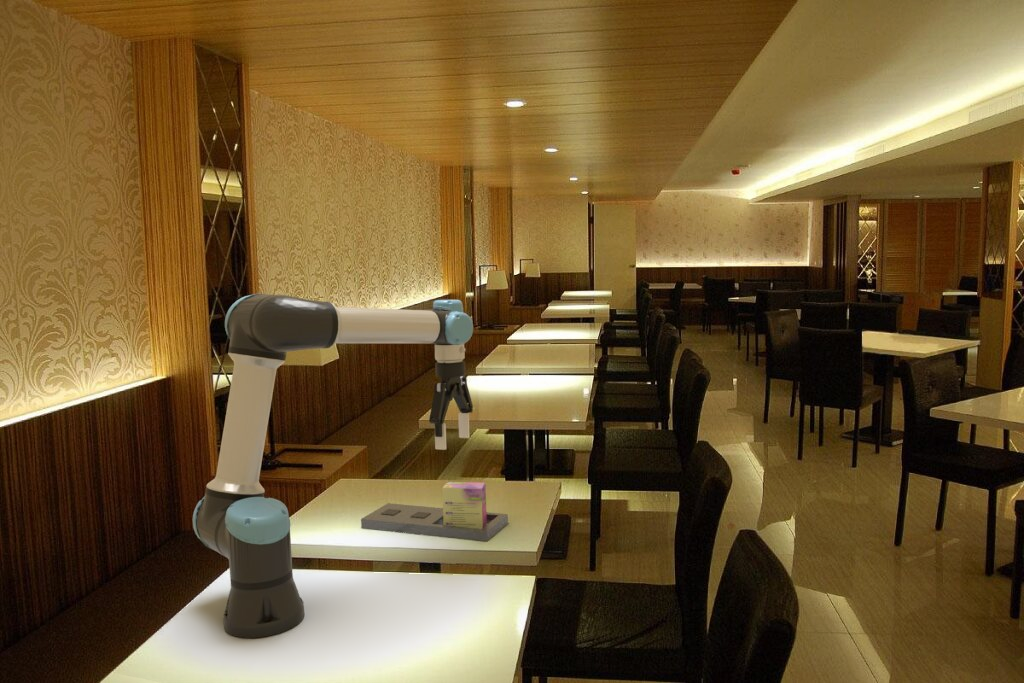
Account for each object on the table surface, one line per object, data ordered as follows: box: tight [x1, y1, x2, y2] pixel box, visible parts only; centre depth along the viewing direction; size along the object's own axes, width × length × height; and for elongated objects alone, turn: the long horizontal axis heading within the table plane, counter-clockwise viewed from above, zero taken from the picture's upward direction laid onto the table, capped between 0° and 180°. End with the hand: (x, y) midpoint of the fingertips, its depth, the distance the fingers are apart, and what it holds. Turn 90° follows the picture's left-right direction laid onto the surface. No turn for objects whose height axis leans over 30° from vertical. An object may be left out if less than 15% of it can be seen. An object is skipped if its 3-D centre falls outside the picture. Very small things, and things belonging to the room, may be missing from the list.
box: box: [442, 481, 488, 529], centre depth 206 cm, size 10×6×12 cm, turn 81°
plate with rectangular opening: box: [360, 502, 509, 542], centre depth 210 cm, size 14×36×3 cm, turn 69°
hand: (453, 443), depth 204 cm, fingers open, 13 cm apart
